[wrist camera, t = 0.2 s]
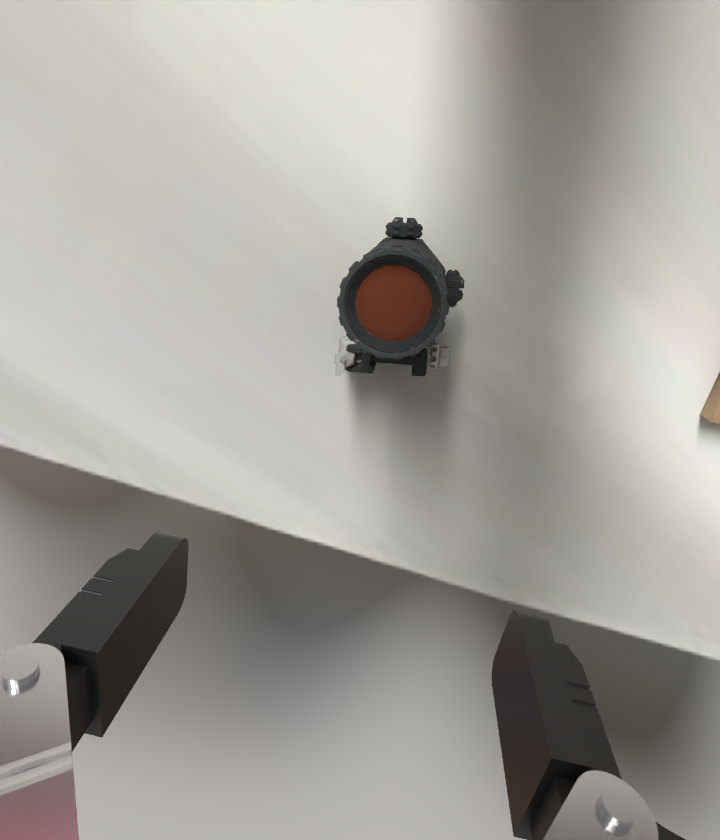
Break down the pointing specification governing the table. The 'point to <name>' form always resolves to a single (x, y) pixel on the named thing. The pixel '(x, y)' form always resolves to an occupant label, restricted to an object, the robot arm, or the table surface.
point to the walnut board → (713, 404)
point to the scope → (396, 304)
